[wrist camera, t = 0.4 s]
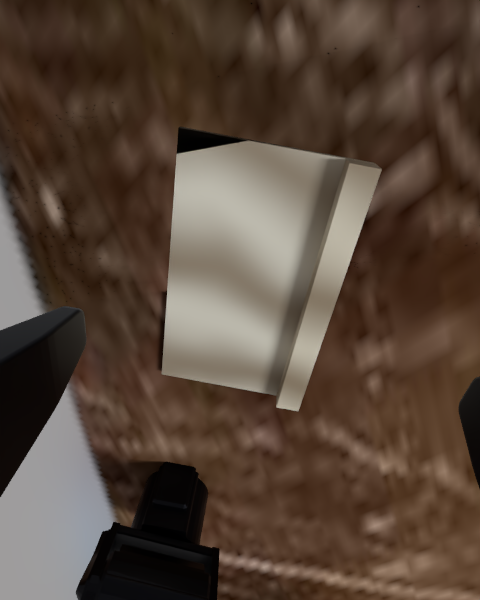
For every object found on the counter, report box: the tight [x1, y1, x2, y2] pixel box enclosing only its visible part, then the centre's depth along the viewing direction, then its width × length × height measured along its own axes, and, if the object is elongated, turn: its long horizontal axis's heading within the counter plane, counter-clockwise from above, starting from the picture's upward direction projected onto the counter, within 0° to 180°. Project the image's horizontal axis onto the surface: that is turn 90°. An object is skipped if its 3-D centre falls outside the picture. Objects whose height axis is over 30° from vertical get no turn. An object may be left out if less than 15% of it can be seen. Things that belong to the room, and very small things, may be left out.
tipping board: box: [162, 127, 382, 411], centre depth 22 cm, size 16×10×2 cm, turn 171°
